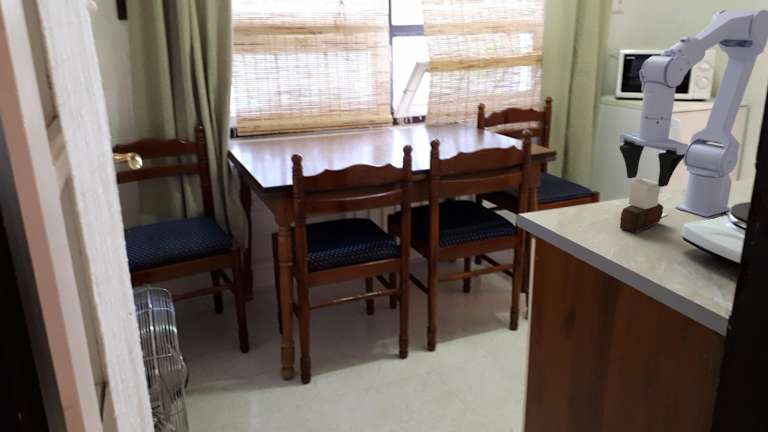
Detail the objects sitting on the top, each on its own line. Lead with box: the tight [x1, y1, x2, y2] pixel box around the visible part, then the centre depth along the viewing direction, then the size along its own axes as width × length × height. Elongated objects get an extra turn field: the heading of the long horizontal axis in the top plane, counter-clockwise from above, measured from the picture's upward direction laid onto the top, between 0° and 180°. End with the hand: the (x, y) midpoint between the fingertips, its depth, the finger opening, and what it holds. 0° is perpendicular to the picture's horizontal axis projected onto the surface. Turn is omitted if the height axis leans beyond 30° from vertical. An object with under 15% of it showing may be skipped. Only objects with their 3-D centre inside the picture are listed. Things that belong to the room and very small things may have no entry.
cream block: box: [628, 178, 660, 209], centre depth 125 cm, size 4×4×5 cm
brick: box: [619, 202, 664, 233], centre depth 127 cm, size 11×4×5 cm, turn 129°
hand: (646, 181), depth 124 cm, fingers open, 7 cm apart
